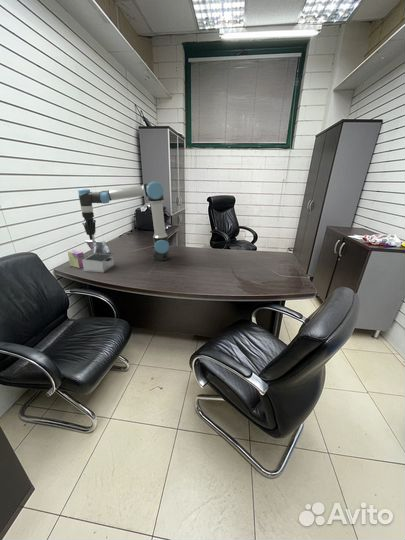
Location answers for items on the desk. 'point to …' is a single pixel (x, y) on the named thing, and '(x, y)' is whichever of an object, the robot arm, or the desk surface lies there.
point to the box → (76, 258)
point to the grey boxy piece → (98, 263)
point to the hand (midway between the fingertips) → (92, 243)
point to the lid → (99, 247)
